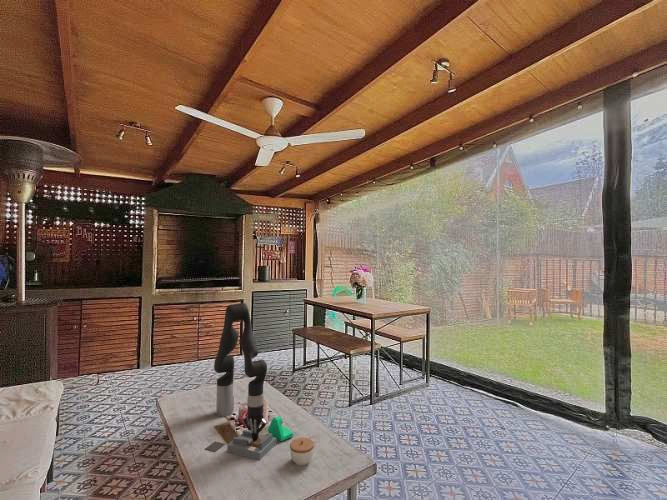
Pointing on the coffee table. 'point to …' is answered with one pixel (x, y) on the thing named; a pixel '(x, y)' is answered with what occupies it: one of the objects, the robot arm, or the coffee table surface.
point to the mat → (214, 446)
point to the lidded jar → (301, 450)
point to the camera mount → (279, 429)
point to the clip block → (256, 443)
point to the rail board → (243, 446)
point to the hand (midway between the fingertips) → (255, 439)
